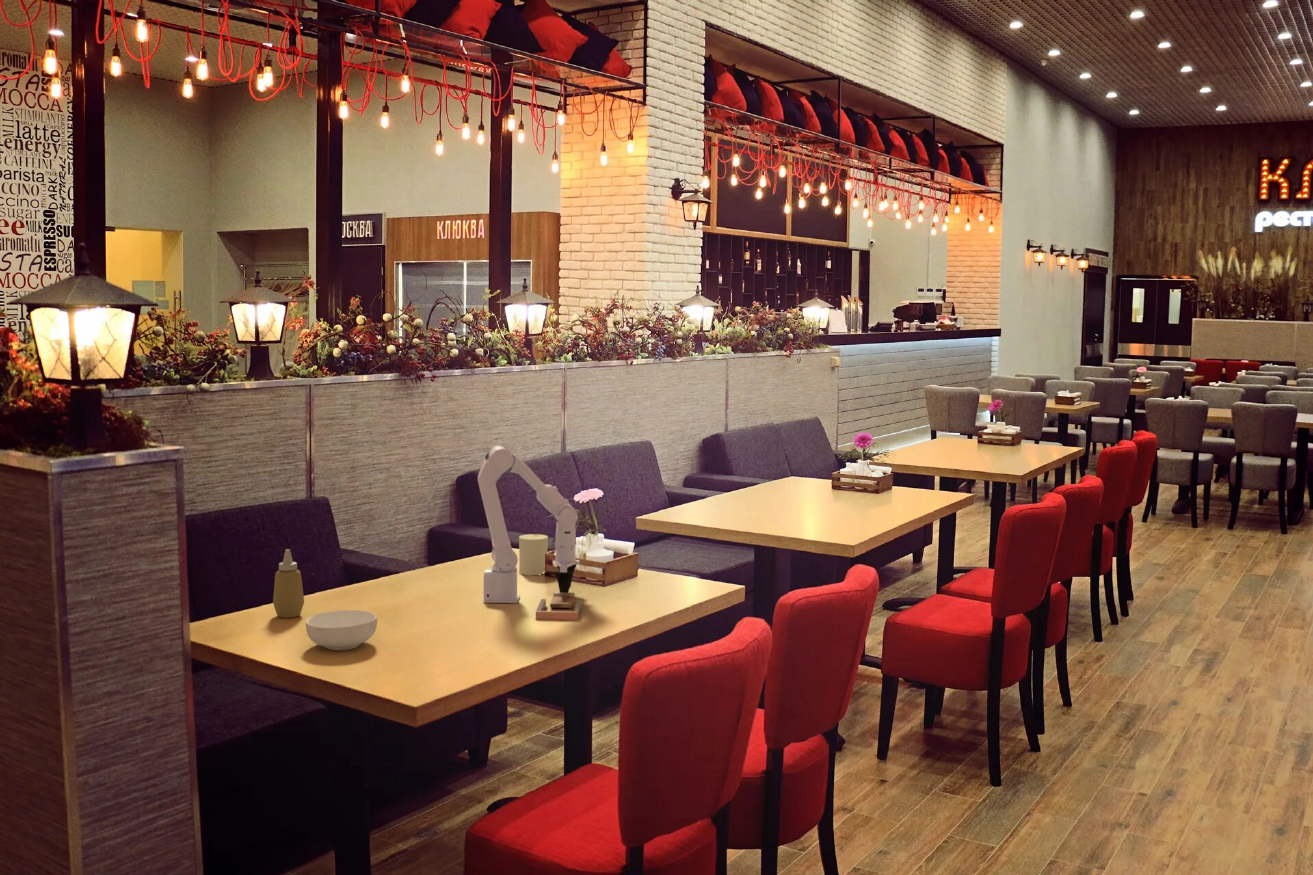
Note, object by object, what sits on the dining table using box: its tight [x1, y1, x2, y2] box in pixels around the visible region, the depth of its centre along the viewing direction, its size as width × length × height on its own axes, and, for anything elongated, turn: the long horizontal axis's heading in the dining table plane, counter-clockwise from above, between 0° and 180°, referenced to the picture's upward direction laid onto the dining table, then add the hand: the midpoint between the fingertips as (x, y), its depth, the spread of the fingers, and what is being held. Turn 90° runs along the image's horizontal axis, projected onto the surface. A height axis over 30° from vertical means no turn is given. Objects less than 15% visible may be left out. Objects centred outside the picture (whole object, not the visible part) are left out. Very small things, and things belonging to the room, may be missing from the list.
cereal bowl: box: [305, 609, 378, 651], centre depth 285 cm, size 17×17×7 cm
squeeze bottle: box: [272, 548, 305, 619], centre depth 311 cm, size 8×8×18 cm
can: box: [518, 533, 549, 576], centre depth 368 cm, size 9×9×12 cm
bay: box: [535, 598, 583, 621], centre depth 319 cm, size 11×14×2 cm
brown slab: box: [549, 591, 576, 610], centre depth 328 cm, size 6×10×2 cm, turn 179°
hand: (565, 591), depth 337 cm, fingers open, 7 cm apart
